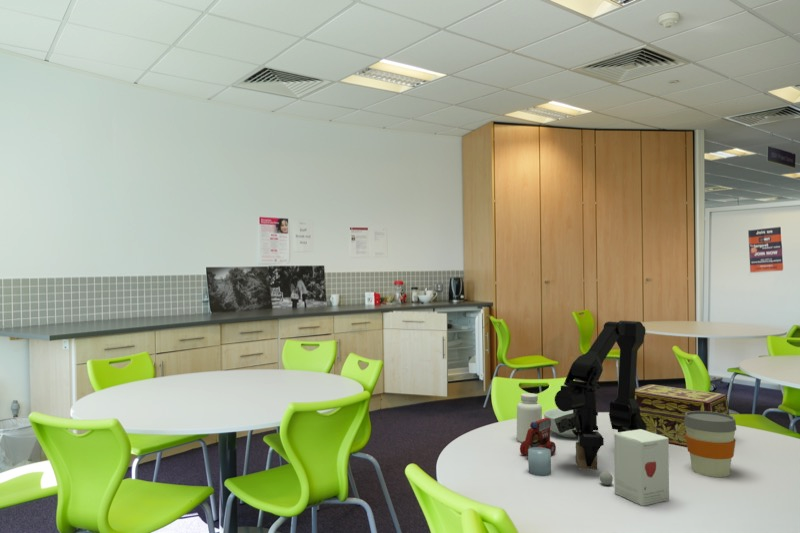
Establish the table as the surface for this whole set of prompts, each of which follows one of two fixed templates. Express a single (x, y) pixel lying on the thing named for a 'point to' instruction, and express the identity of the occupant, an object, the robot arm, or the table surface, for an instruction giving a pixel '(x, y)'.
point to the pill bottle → (527, 414)
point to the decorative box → (674, 409)
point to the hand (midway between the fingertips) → (586, 461)
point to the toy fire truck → (538, 437)
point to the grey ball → (606, 478)
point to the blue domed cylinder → (539, 461)
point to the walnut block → (583, 459)
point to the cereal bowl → (552, 415)
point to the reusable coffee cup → (710, 442)
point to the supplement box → (641, 466)
